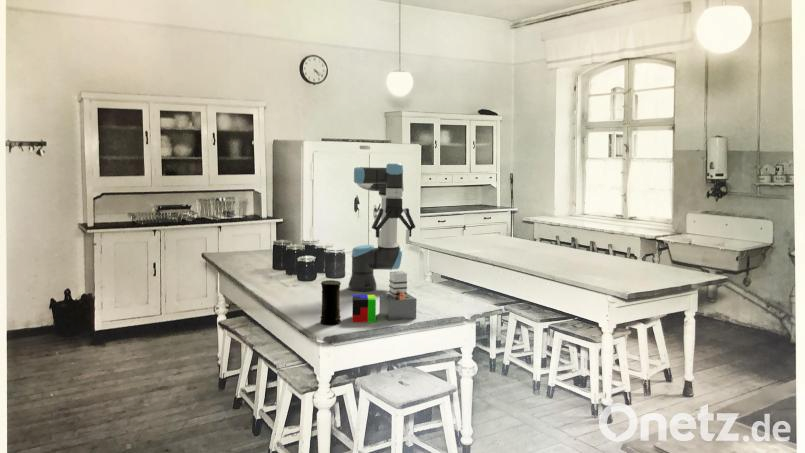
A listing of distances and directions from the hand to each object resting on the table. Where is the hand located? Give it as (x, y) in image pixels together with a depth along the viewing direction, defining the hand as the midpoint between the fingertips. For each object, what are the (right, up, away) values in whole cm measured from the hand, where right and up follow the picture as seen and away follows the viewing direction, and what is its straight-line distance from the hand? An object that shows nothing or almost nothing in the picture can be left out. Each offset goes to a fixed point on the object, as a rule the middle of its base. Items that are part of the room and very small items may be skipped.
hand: (393, 244), depth 300 cm
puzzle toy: (-13, -33, -7) cm, 37 cm away
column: (+2, -33, -1) cm, 33 cm away
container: (-27, -34, -14) cm, 46 cm away
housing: (+2, -33, -1) cm, 33 cm away
